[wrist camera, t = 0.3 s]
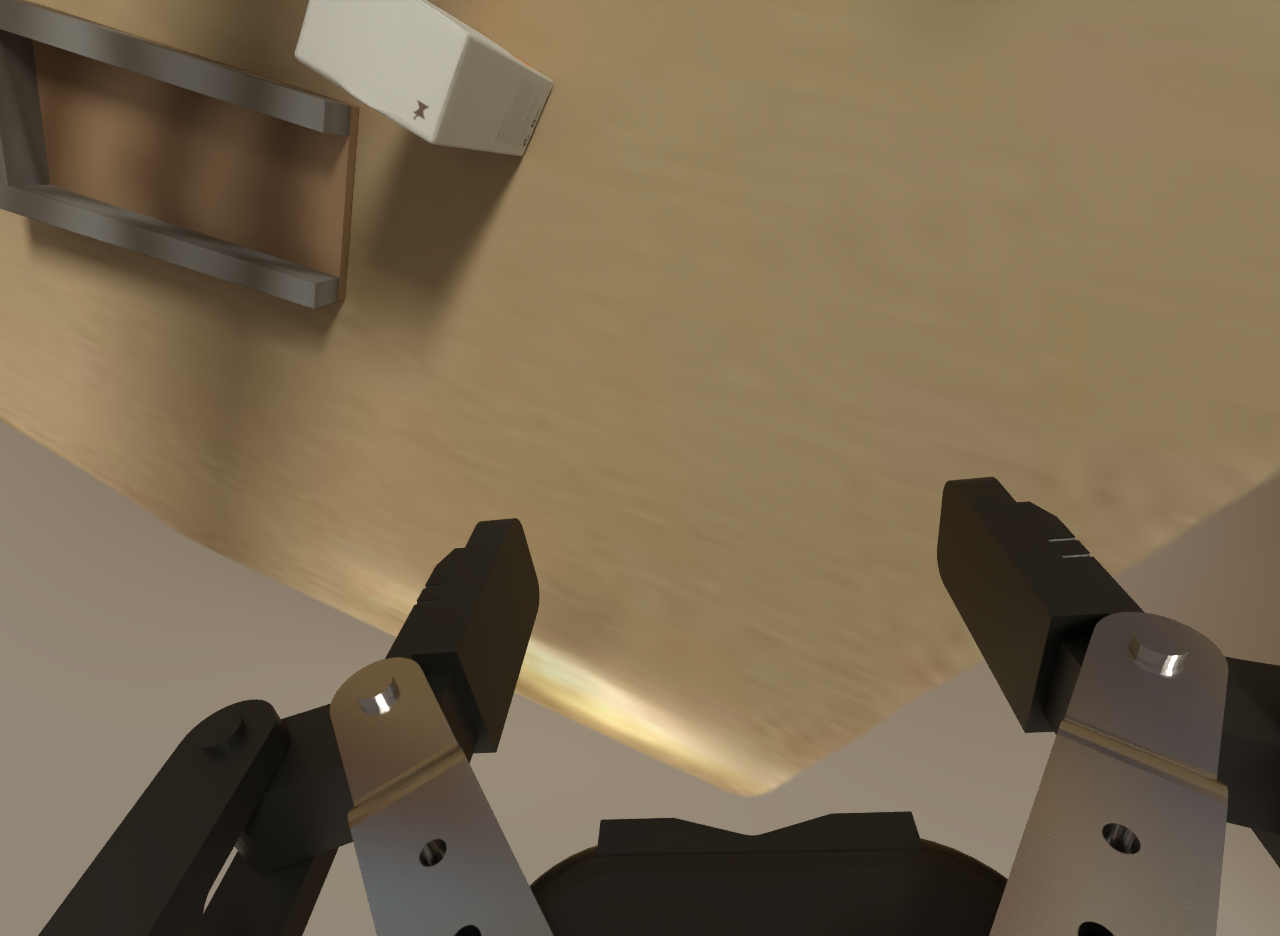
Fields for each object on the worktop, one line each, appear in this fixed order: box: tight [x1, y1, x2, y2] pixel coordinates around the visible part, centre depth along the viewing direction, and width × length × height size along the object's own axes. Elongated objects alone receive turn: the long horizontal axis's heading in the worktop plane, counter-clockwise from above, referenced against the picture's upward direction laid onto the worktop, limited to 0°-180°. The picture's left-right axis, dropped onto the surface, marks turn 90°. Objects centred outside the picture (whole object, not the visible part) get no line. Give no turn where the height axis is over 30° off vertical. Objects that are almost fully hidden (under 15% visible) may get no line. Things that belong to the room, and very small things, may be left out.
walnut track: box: [0, 0, 359, 309], centre depth 36 cm, size 20×11×3 cm, turn 74°
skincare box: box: [294, 0, 553, 156], centre depth 29 cm, size 6×4×12 cm
